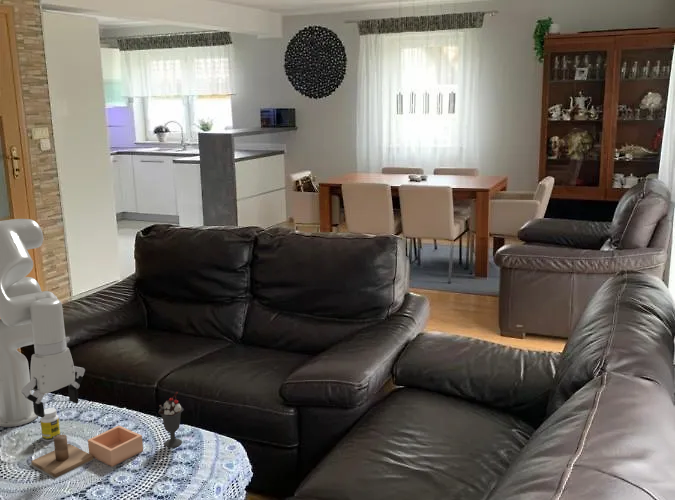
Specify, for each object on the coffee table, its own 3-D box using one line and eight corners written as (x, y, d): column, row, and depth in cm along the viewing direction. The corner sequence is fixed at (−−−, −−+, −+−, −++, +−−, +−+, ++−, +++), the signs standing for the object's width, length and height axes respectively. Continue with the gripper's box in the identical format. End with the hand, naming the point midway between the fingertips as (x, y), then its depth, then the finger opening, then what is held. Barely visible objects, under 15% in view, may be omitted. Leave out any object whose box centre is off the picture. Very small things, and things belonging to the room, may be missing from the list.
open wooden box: (89, 456, 182) (87, 439, 181) (120, 441, 190) (118, 425, 189) (112, 468, 176) (110, 450, 175) (143, 452, 184) (141, 435, 183)
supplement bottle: (53, 442, 190) (50, 415, 188) (38, 441, 191) (35, 413, 189) (63, 434, 194) (61, 407, 192) (49, 433, 195) (46, 406, 193)
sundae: (190, 440, 191) (187, 391, 187) (175, 451, 185) (171, 400, 181) (171, 435, 193) (168, 387, 190) (156, 446, 187) (152, 396, 184)
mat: (29, 465, 178) (28, 464, 178) (69, 447, 187) (69, 445, 187) (55, 480, 171) (54, 479, 171) (96, 460, 180) (95, 458, 180)
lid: (31, 464, 178) (28, 440, 176) (69, 446, 187) (66, 423, 185) (55, 477, 172) (52, 452, 170) (93, 458, 180) (90, 435, 179)
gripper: (72, 334, 181) (78, 393, 185) (9, 354, 167) (17, 417, 171) (89, 339, 176) (94, 400, 180) (26, 360, 163) (34, 425, 167)
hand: (57, 408), depth 176 cm, fingers open, 9 cm apart
